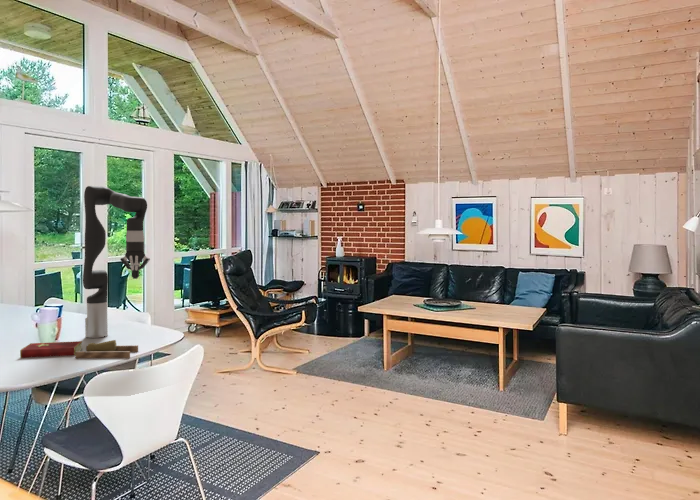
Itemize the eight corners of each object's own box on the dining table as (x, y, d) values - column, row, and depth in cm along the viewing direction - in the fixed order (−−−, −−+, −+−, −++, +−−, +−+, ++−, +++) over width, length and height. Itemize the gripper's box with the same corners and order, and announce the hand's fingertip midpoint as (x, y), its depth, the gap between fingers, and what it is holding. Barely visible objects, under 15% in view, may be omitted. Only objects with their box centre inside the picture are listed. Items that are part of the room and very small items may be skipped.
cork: (116, 355, 223) (89, 357, 220) (116, 341, 226) (89, 343, 223) (113, 352, 218) (85, 354, 215) (113, 338, 220) (86, 340, 217)
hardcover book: (75, 356, 218) (75, 346, 218) (20, 359, 213) (20, 349, 213) (82, 349, 230) (82, 340, 229) (31, 352, 225) (30, 342, 224)
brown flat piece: (75, 358, 214) (75, 352, 214) (87, 351, 225) (87, 345, 225) (129, 357, 215) (129, 351, 215) (138, 350, 227) (138, 345, 227)
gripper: (116, 240, 226) (117, 279, 227) (147, 241, 227) (147, 279, 228) (123, 240, 233) (123, 277, 234) (152, 240, 234) (152, 277, 235)
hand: (135, 278), depth 231 cm, fingers closed
